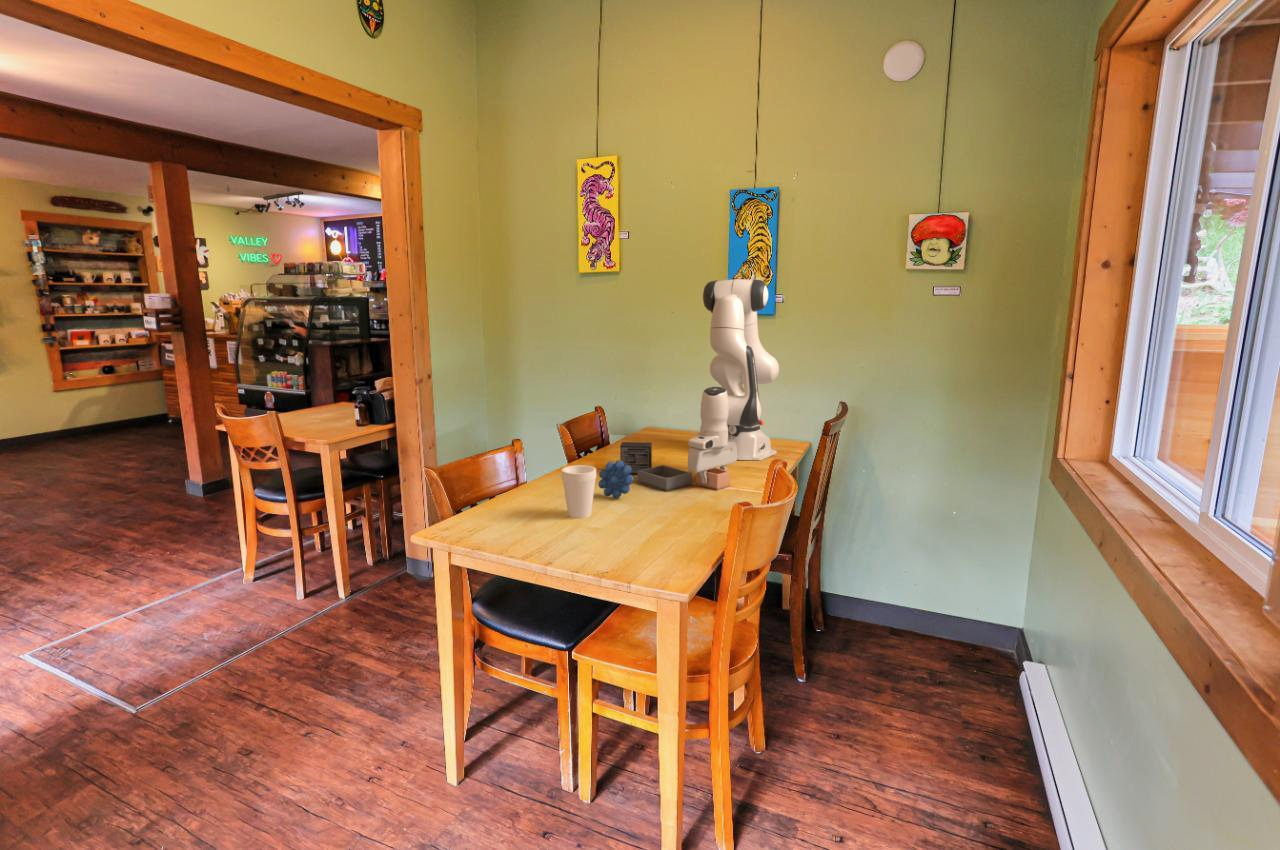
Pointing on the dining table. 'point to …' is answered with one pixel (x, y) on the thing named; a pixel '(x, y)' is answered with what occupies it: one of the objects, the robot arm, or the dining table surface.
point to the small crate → (715, 479)
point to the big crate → (664, 477)
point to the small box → (636, 455)
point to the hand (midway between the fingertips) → (712, 480)
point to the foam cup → (579, 489)
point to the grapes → (615, 479)
